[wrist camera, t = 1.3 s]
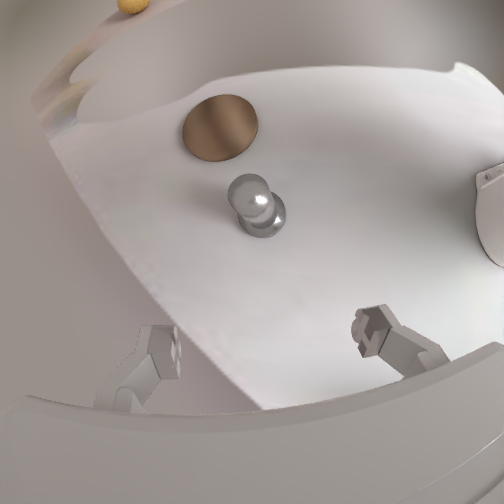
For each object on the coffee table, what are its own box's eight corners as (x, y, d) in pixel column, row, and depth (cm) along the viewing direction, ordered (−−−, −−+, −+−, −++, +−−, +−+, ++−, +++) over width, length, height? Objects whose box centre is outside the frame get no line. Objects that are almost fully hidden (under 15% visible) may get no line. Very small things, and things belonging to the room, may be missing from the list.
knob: (270, 184, 39) (258, 154, 29) (294, 221, 38) (290, 201, 28) (232, 208, 40) (208, 186, 30) (255, 246, 38) (237, 235, 29)
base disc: (234, 88, 42) (232, 83, 40) (272, 134, 40) (271, 129, 38) (175, 126, 43) (171, 121, 42) (205, 176, 41) (202, 172, 39)
